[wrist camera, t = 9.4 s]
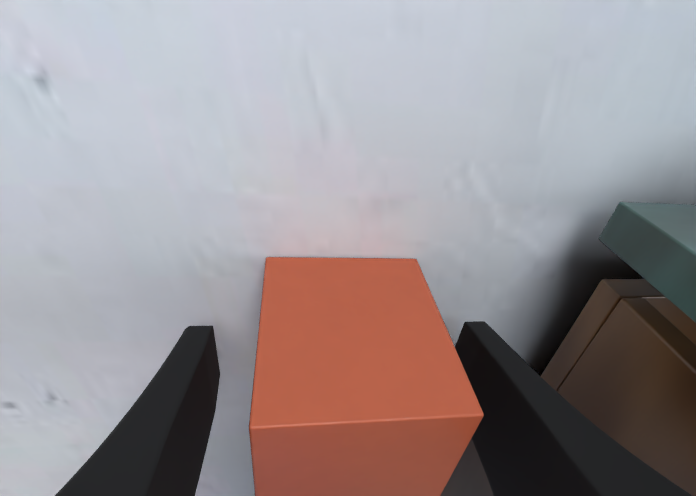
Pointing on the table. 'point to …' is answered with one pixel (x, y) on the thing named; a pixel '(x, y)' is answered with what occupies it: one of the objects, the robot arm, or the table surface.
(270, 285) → the block
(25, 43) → the table surface
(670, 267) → the drawer
